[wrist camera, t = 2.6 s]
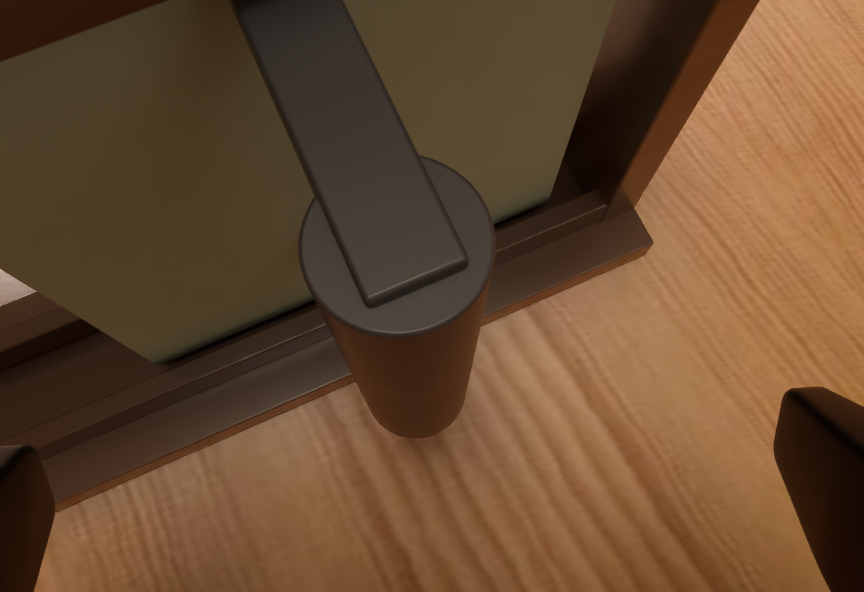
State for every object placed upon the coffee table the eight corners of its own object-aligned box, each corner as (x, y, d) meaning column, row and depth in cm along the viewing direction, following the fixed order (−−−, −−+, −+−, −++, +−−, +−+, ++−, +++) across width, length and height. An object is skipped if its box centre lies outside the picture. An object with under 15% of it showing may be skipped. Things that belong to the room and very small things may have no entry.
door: (635, 363, 18) (989, 57, 6) (222, 551, 17) (-235, 583, 5) (527, 161, 19) (660, -378, 8) (141, 320, 18) (-352, -43, 7)
